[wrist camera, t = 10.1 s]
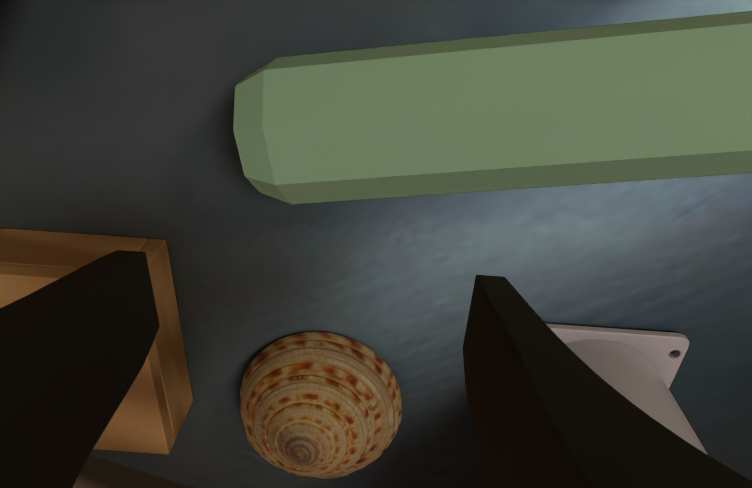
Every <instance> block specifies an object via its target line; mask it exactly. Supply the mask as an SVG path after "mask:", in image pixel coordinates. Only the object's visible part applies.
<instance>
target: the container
mask: <svg viewBox="0 0 752 488" xmlns="http://www.w3.org/2000/svg"><path fill="white" fill-rule="evenodd" d="M233 132H234V136H235V140H236V144H237V148H238V152H239V156H240V160H241V164H242V168H243V172H244V176H245V177H246V178H247V179H248V180H249V182H250V183H251V184H252V185H253V186H254V187H255V188H256V189H257V190H258V191H259V192H260V193H262V194H265V195H268V196H270V197H273V198H276V199H278V200H281V201H284V202H286V203H289V204H304V203H318V202H333V201H347V200H362V199H377V198H391V197H406V196H420V195H435V194H450V193H464V192H479V191H493V190H508V189H523V188H537V187H552V186H567V185H581V184H596V183H610V182H625V181H640V180H654V179H669V178H683V177H698V176H713V175H727V174H742V173H752V11H747V12H737V13H727V14H716V15H706V16H696V17H686V18H676V19H665V20H655V21H645V22H635V23H625V24H614V25H604V26H594V27H584V28H574V29H564V30H553V31H543V32H533V33H523V34H513V35H502V36H492V37H482V38H472V39H462V40H451V41H441V42H431V43H421V44H411V45H400V46H390V47H380V48H370V49H360V50H349V51H339V52H329V53H319V54H309V55H299V56H288V57H278V58H276V59H274V60H273V61H271V62H269V63H268V64H266V65H264V66H263V67H261V68H259V69H258V70H256V71H254V72H253V73H251V74H249V75H248V76H247V77H246V78H244V79H243V80H242V81H241V82H240V83H239V84H237V85H236V86H235V101H234V125H233Z"/></svg>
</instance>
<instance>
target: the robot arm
mask: <svg viewBox="0 0 752 488" xmlns="http://www.w3.org/2000/svg"><path fill="white" fill-rule="evenodd" d="M159 327H160V324H159V319H158V314H157V308H156V303H155V298H154V293H153V288H152V283H151V278H150V273H149V267H148V262H147V257H146V252H140V251H125V250H117V251H114V252H112V253H109V254H107V255H105V256H103V257H101V258H98V259H96V260H94V261H92V262H90V263H88V264H86V265H85V266H83V267H81V268H79V269H77V270H75V271H73V272H71V273H69V274H67V275H65V276H63V277H62V278H60V279H58V280H56V281H54V282H52V283H50V284H48V285H46V286H44V287H42V288H40V289H38V290H37V291H35V292H33V293H31V294H29V295H27V296H25V297H23V298H21V299H19V300H17V301H14V302H12V303H10V304H8V305H6V306H4V307H2V308H0V488H72V487H73V485H74V483H75V481H76V479H77V477H78V475H79V473H80V471H81V469H82V467H83V466H84V464H85V462H86V460H87V458H88V457H89V455H90V453H91V451H92V450H93V448H94V446H95V445H96V443H97V442H98V440H99V438H100V437H101V435H102V433H103V432H104V430H105V428H106V427H107V425H108V424H109V422H110V420H111V419H112V417H113V415H114V414H115V412H116V410H117V409H118V407H119V405H120V404H121V402H122V401H123V399H124V397H125V396H126V394H127V392H128V391H129V389H130V387H131V386H132V384H133V382H134V381H135V379H136V377H137V375H138V374H139V372H140V370H141V369H142V367H143V365H144V363H145V361H146V358H147V356H148V354H149V352H150V349H151V347H152V344H153V342H154V339H155V337H156V334H157V332H158V329H159ZM688 347H689V341H688V339H687V338H686V336H685V335H683V334H681V333H672V332H658V331H644V330H630V329H616V328H602V327H588V326H574V325H559V324H545V322H544V321H543V320H542V319H541V318H540V317H539V316H538V315H537V314H536V313H535V311H534V310H533V309H532V308H531V307H530V306H529V305H528V303H527V302H526V301H525V300H524V299H523V298H522V296H521V295H520V294H519V293H518V292H517V291H516V289H515V288H514V287H513V286H512V285H511V284H510V283H509V281H508V280H507V279H506V278H505V277H499V276H485V275H476V278H475V284H474V289H473V295H472V300H471V306H470V311H469V317H468V322H467V328H466V333H465V339H464V344H463V356H464V371H465V383H466V391H467V397H468V402H469V407H470V412H471V417H472V422H473V427H474V431H475V436H476V441H477V446H478V451H479V456H480V461H481V465H482V470H483V475H484V480H485V486H486V488H752V481H751V480H749V479H747V478H745V477H744V476H742V475H740V474H739V473H737V472H735V471H734V470H732V469H730V468H729V467H727V466H725V465H724V464H722V463H720V462H719V461H717V460H715V459H713V458H712V457H710V456H709V455H708V454H707V453H706V451H705V449H704V448H703V446H702V444H701V443H700V441H699V439H698V438H697V436H696V434H695V433H694V431H693V429H692V428H691V426H690V424H689V422H688V421H687V419H686V417H685V416H684V414H683V412H682V411H681V409H680V407H679V406H678V404H677V402H676V401H675V399H674V397H673V396H672V394H671V392H670V391H669V387H670V385H671V383H672V381H673V379H674V377H675V374H676V372H677V370H678V368H679V366H680V364H681V362H682V360H683V357H684V355H685V353H686V351H687V349H688ZM673 350H675V351H674V352H672V353H670V352H671V351H673Z"/></svg>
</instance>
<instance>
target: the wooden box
mask: <svg viewBox="0 0 752 488" xmlns="http://www.w3.org/2000/svg"><path fill="white" fill-rule="evenodd" d="M117 250H125V251H140V252H146V257H147V262H148V267H149V273H150V278H151V283H152V288H153V293H154V298H155V303H156V308H157V314H158V319H159V324H160V327H159V329H158V332H157V334H156V337H155V339H154V342H153V344H152V347H151V349H150V352H149V354H148V356H147V358H146V361H145V363H144V365H143V367H142V369H141V370H140V372H139V374H138V375H137V377H136V379H135V381H134V382H133V384H132V386H131V387H130V389H129V391H128V392H127V394H126V396H125V397H124V399H123V401H122V402H121V404H120V405H119V407H118V409H117V410H116V412H115V414H114V415H113V417H112V419H111V420H110V422H109V424H108V425H107V427H106V428H105V430H104V432H103V433H102V435H101V437H100V438H99V440H98V442H97V443H96V445H95V446H94V448H93V449H101V450H115V451H128V452H142V453H156V454H169V453H170V450H171V448H172V446H173V444H174V440H175V439H176V437H177V435H178V432H179V430H180V428H181V426H182V423H183V421H184V419H185V417H186V415H187V412H188V410H189V408H190V406H191V403H192V401H193V396H192V390H191V384H190V378H189V372H188V366H187V360H186V354H185V349H184V343H183V337H182V331H181V325H180V319H179V313H178V307H177V301H176V295H175V289H174V283H173V277H172V271H171V265H170V260H169V254H168V248H167V242H166V240H163V239H149V240H148V239H147V238H135V237H121V236H106V235H92V234H78V233H63V232H49V231H35V230H21V229H4V228H0V308H2V307H4V306H6V305H8V304H10V303H12V302H14V301H17V300H19V299H21V298H23V297H25V296H27V295H29V294H31V293H33V292H35V291H37V290H38V289H40V288H42V287H44V286H46V285H48V284H50V283H52V282H54V281H56V280H58V279H60V278H62V277H63V276H65V275H67V274H69V273H71V272H73V271H75V270H77V269H79V268H81V267H83V266H85V265H86V264H88V263H90V262H92V261H94V260H96V259H98V258H101V257H103V256H105V255H107V254H109V253H112V252H114V251H117Z"/></svg>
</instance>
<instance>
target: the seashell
mask: <svg viewBox="0 0 752 488" xmlns="http://www.w3.org/2000/svg"><path fill="white" fill-rule="evenodd" d="M240 413H241V417H242V421H243V425H244V429H245V431H246V433H247V439H248V441H249V442H250V444H251V446H252V447H253V448H254V449H255V450H256V451H257V452H258V453H259V454H260V456H261V457H262V458H263V459H265V460H267V461H269V462H270V463H271V464H272V465H274V466H276V467H279V468H281V469H282V470H284V471H287V472H290V473H293V474H296V475H299V476H307V477H318V478H329V479H330V478H336V477H342V476H346V475H349V474H350V473H352V472H354V471H356V470H359V469H362V468H364V467H366V466H367V465H369V464H370V463H372V462H373V461H375V460H376V459H377V458H378V457H379V456H380V455H381V454H382V453H383V452H384V451H385V450H386V448H387V447H388V446H389V444H390V443H391V441H392V439H393V438H394V436H395V435H396V433H397V430H398V427H399V424H400V422H401V417H402V399H401V392H400V388H399V385H398V383H397V381H396V378H395V376H394V374H393V373H392V371H391V369H390V368H389V367H388V365H387V364H386V362H385V361H384V360H382V359H381V358H380V357H379V356H378V355H377V354H376V353H375V352H374V351H373V350H371V349H370V348H368V347H367V346H365V345H363V344H361V343H360V342H358V341H356V340H353V339H350V338H348V337H344V336H340V335H336V334H331V333H325V332H305V333H300V334H295V335H291V336H287V337H285V338H282V339H280V340H277V341H276V342H274V343H272V344H271V345H269V346H268V347H266V348H265V349H264V350H263V351H262V352H261V353H260V354H259V355H258V356H257V357H256V358H255V359H254V360H253V361H252V362H251V364H250V365H249V367H248V368H247V370H246V372H245V375H244V377H243V381H242V384H241V390H240Z"/></svg>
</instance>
